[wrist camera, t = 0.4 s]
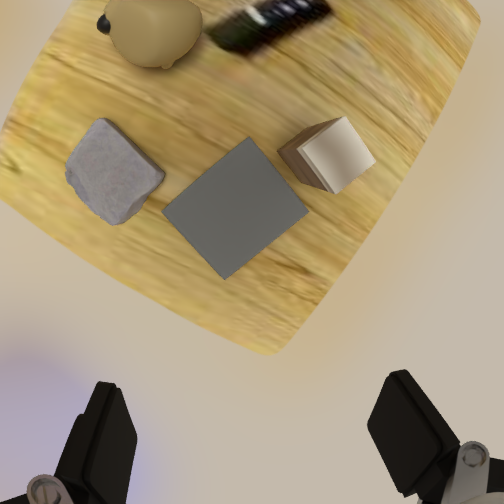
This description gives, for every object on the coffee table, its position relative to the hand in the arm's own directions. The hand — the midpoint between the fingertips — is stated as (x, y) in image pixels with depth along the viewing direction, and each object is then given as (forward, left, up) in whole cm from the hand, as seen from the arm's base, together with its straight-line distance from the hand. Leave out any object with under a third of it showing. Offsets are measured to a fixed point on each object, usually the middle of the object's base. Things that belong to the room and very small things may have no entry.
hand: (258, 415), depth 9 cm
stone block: (+7, -15, -30) cm, 34 cm away
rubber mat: (-2, -1, -30) cm, 30 cm away
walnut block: (-13, -1, -30) cm, 32 cm away
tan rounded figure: (-9, -25, -30) cm, 40 cm away
